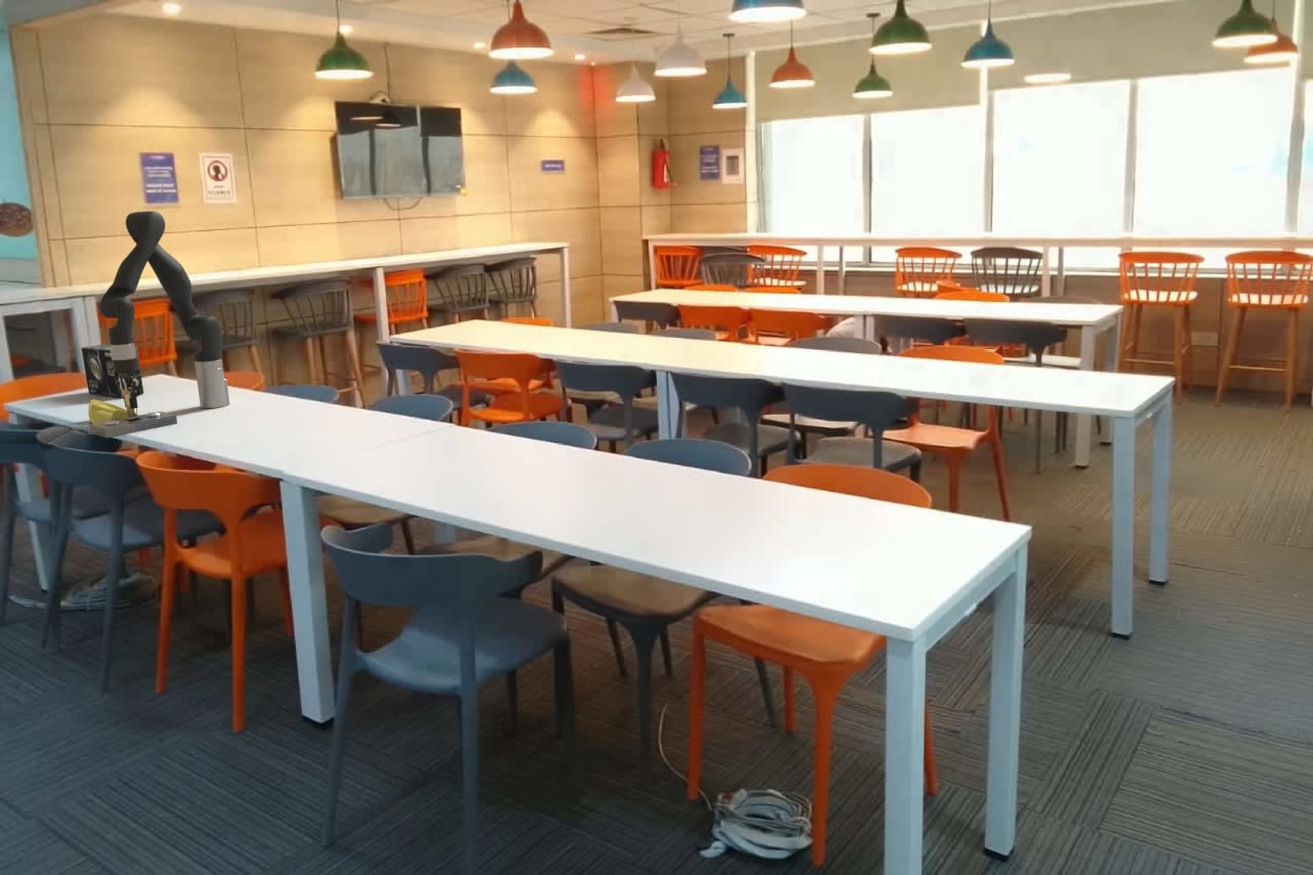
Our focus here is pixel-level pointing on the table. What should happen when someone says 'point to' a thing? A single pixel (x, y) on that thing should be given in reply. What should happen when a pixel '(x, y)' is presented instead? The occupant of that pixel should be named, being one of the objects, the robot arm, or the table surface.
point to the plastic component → (105, 412)
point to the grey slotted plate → (133, 424)
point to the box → (103, 371)
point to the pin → (129, 411)
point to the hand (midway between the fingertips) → (131, 407)
